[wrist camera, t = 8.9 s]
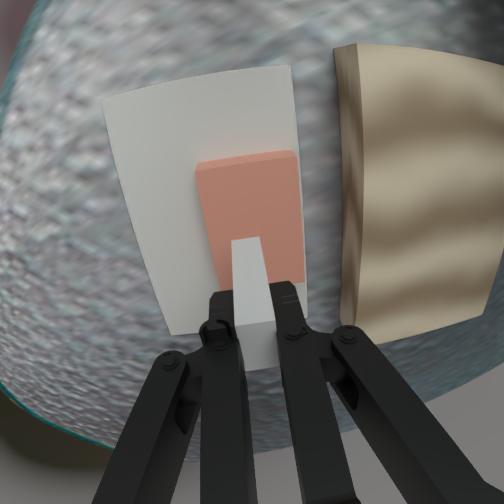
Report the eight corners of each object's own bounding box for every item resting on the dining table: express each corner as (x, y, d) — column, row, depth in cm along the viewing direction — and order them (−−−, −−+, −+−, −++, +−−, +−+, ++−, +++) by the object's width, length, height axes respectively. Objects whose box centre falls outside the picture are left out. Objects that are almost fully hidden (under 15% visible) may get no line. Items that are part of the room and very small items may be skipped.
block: (297, 156, 18) (290, 149, 20) (194, 171, 18) (197, 162, 20) (305, 281, 23) (299, 266, 25) (221, 294, 23) (221, 278, 25)
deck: (333, 48, 17) (356, 43, 13) (490, 66, 17) (523, 71, 13) (339, 318, 28) (352, 350, 25) (462, 290, 28) (482, 314, 25)
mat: (102, 99, 17) (101, 99, 17) (289, 64, 17) (290, 64, 17) (171, 333, 28) (171, 335, 27) (306, 315, 28) (307, 317, 27)
